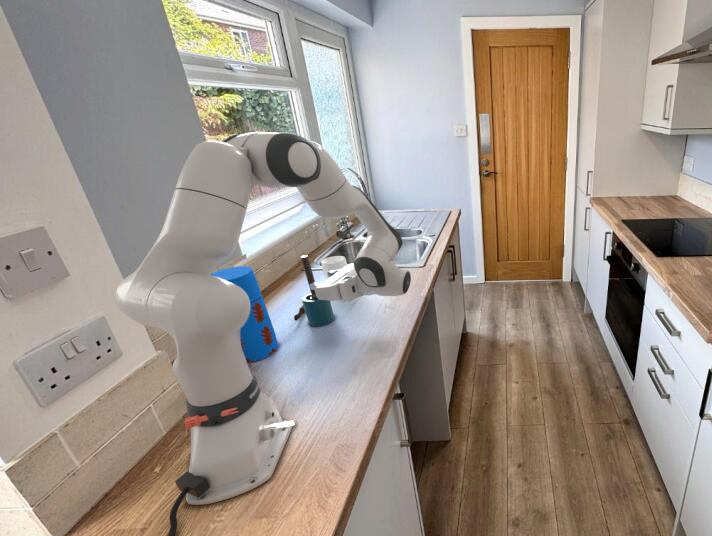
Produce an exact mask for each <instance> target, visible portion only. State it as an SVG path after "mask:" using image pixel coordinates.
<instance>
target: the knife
mask: <svg viewBox="0 0 712 536" xmlns="http://www.w3.org/2000/svg"><path fill="white" fill-rule="evenodd" d="M305 313H306V312H305V309H304V305H303V304H302V305H301V307H299V310H298V312H297V313H296V314H295V315H294V316H293V319H294V321H296V322H297V321H298V320H299V319H300V318H301V317H302V316H303V314H305Z"/></svg>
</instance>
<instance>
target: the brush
mask: <svg viewBox="0 0 712 536" xmlns="http://www.w3.org/2000/svg"><path fill="white" fill-rule="evenodd" d="M300 259H301V264H302V266H303V270H304V274H305V277H306V280H307V284H308V287H309V291H310V293H311V297H310V300H316V299H318V298H317V296H316V293H315V290H311V289H310V286H309V285H310V284H311V283H313V282H314V283H316V279H315V277H314V273H313V269H312V266H311V263H310V259H309V256H308V255H302V256H300Z"/></svg>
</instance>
